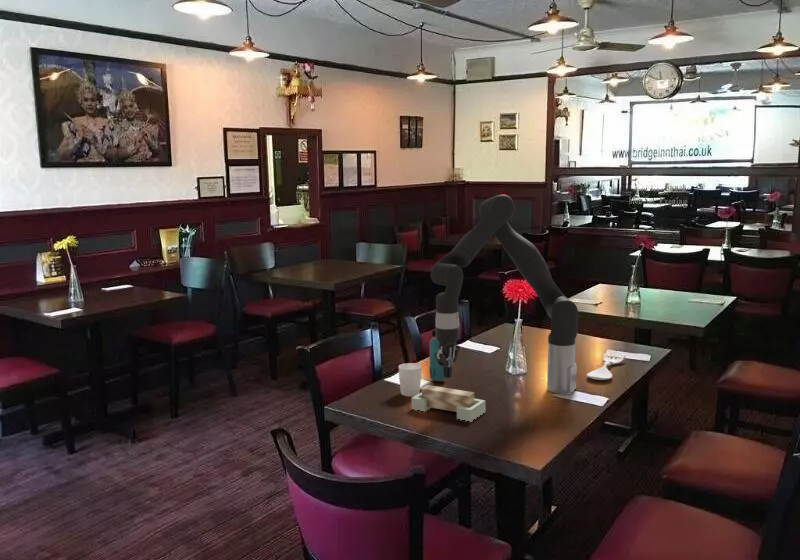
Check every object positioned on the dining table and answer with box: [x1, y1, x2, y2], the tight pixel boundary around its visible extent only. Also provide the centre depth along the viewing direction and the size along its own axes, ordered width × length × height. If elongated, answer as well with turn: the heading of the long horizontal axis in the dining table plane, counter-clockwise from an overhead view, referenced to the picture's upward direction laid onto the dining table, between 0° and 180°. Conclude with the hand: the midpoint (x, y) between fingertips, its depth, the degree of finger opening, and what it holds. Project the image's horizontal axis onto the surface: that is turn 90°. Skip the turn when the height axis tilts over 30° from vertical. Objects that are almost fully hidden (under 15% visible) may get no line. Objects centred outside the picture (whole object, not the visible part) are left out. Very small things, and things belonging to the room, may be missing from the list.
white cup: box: [398, 362, 422, 397], centre depth 234 cm, size 8×8×10 cm
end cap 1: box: [411, 391, 432, 413], centre depth 222 cm, size 5×10×4 cm, turn 146°
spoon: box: [586, 352, 627, 381], centre depth 255 cm, size 9×32×4 cm, turn 150°
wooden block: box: [421, 384, 475, 413], centre depth 217 cm, size 17×4×6 cm, turn 60°
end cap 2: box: [456, 397, 486, 423], centre depth 212 cm, size 5×10×4 cm, turn 146°
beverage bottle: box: [428, 328, 447, 381], centre depth 245 cm, size 6×7×20 cm
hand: (447, 377), depth 216 cm, fingers closed
